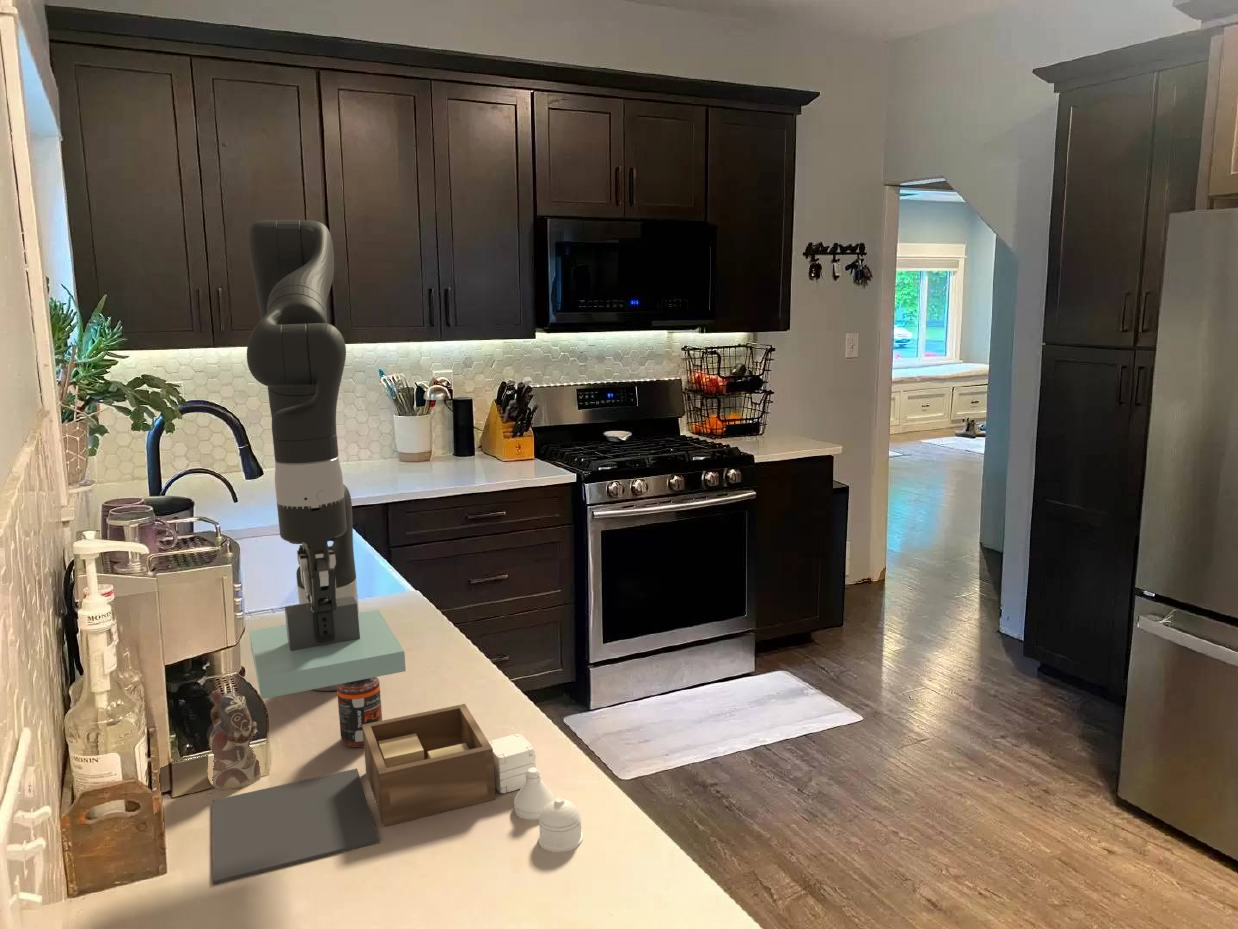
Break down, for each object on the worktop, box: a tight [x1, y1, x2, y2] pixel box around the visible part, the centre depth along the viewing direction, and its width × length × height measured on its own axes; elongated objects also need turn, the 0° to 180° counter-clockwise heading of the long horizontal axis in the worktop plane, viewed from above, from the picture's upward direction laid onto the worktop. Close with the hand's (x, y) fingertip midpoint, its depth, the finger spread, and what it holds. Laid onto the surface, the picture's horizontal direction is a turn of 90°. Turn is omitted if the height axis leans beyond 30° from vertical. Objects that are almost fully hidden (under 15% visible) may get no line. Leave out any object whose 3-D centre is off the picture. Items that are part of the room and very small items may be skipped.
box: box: [362, 703, 496, 828], centre depth 121 cm, size 14×14×7 cm
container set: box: [488, 733, 584, 853], centre depth 115 cm, size 20×5×6 cm, turn 29°
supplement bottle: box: [336, 677, 383, 748], centre depth 133 cm, size 6×6×11 cm
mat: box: [212, 768, 380, 885], centre depth 114 cm, size 18×18×1 cm
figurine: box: [208, 689, 262, 791], centre depth 124 cm, size 7×7×12 cm
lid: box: [249, 596, 406, 700], centre depth 112 cm, size 16×16×7 cm
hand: (323, 635), depth 112 cm, fingers closed on lid, 3 cm apart
